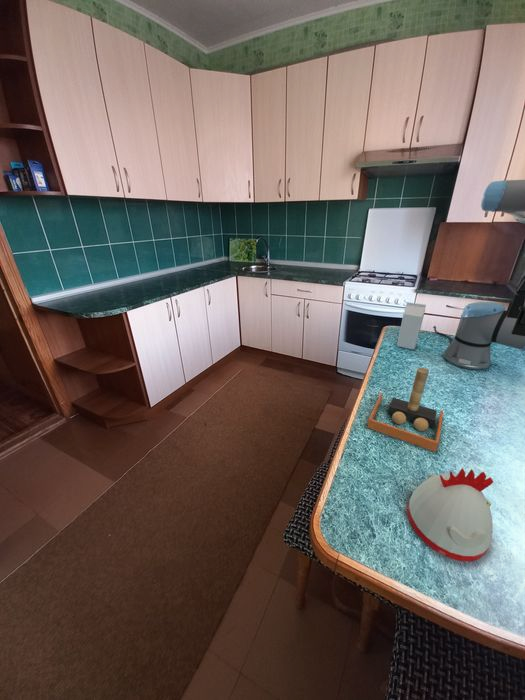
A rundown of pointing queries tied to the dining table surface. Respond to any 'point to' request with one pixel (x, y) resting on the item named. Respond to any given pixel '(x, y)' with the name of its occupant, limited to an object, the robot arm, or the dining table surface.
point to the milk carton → (411, 325)
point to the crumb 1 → (399, 417)
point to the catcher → (404, 434)
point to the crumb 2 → (421, 424)
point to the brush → (415, 401)
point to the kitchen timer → (453, 514)
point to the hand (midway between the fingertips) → (515, 325)
